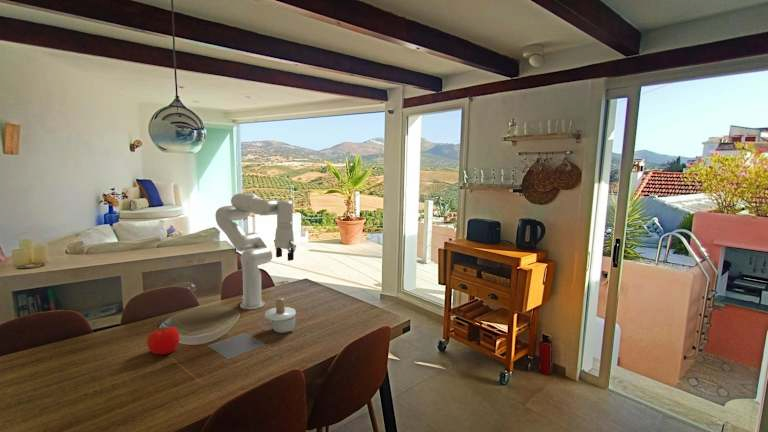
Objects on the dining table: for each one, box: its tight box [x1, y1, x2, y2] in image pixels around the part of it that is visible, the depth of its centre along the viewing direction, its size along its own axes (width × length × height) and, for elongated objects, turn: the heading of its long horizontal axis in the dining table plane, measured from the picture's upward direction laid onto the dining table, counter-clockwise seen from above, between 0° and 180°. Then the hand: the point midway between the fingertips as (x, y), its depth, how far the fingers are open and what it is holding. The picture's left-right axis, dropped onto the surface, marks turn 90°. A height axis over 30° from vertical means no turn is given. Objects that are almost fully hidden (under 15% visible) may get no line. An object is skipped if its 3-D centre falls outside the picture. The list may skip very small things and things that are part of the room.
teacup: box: [264, 315, 296, 334], centre depth 172 cm, size 14×11×8 cm
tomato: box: [146, 325, 180, 355], centre depth 149 cm, size 12×12×10 cm
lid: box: [264, 297, 297, 321], centre depth 171 cm, size 14×14×8 cm
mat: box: [207, 332, 266, 360], centre depth 156 cm, size 17×17×1 cm
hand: (284, 258), depth 187 cm, fingers open, 9 cm apart
